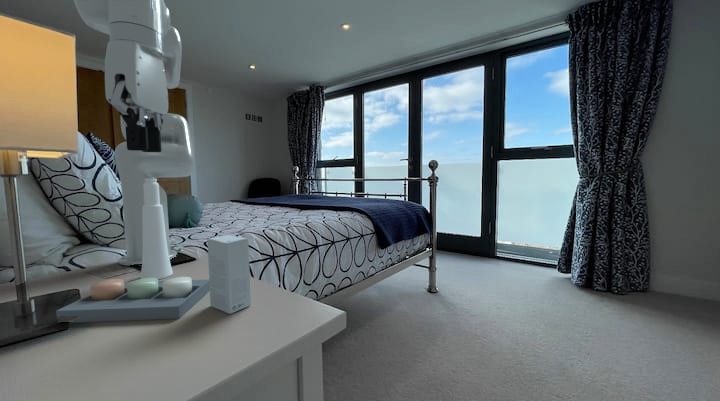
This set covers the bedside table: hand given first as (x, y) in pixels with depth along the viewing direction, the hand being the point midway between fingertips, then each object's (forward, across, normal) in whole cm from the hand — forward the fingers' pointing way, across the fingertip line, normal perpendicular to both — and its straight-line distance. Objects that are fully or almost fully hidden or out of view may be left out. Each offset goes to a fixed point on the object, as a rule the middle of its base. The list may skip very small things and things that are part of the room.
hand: (145, 150), depth 52 cm
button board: (+27, +3, 0) cm, 27 cm away
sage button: (+26, +3, 0) cm, 26 cm away
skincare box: (+27, +5, +16) cm, 32 cm away
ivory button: (+26, +3, +6) cm, 26 cm away
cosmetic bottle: (+27, -12, -6) cm, 31 cm away
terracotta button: (+26, +3, -6) cm, 26 cm away
